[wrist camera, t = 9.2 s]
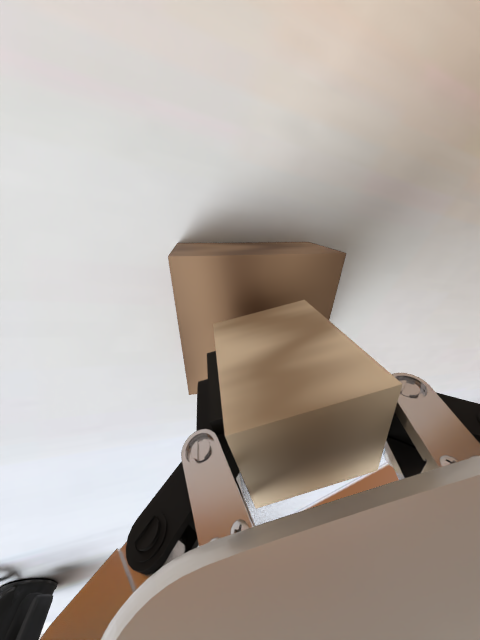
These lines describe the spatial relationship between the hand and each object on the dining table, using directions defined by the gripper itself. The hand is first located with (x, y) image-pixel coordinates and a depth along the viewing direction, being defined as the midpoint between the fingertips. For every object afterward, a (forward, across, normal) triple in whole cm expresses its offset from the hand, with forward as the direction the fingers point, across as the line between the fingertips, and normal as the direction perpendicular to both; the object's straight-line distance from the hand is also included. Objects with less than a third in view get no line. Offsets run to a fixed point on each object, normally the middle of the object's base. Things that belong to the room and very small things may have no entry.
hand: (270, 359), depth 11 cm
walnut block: (+8, 0, 0) cm, 8 cm away
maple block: (+1, 0, 0) cm, 1 cm away
